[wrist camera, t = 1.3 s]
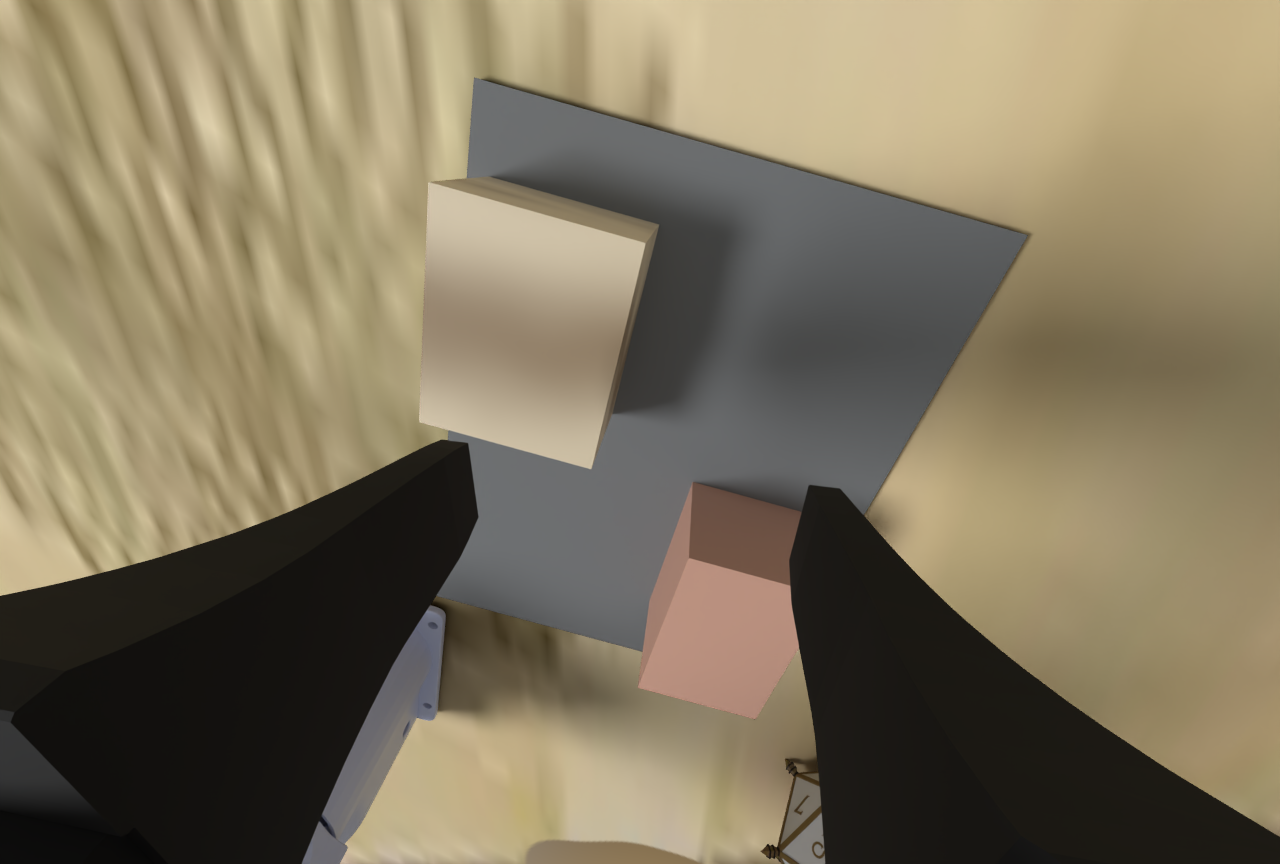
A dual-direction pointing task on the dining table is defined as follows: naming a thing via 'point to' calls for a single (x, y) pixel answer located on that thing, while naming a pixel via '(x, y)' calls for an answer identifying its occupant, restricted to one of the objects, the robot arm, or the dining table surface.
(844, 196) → the mat
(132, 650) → the robot arm
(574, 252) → the maple block
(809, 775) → the game die
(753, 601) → the terracotta block
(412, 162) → the dining table surface
